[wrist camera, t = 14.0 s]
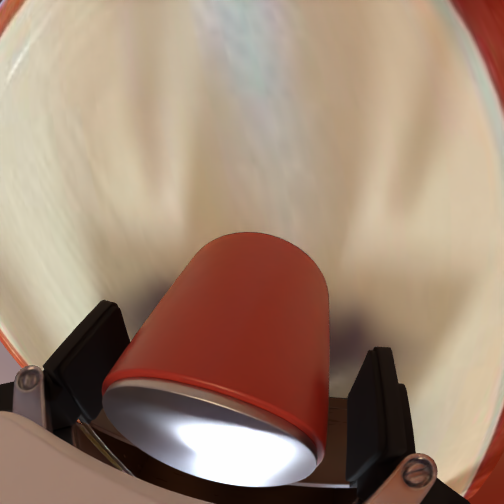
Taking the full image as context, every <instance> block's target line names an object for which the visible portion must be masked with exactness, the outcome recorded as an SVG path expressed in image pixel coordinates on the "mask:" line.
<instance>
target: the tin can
mask: <svg viewBox="0 0 504 504" xmlns="http://www.w3.org/2000/svg"><path fill="white" fill-rule="evenodd" d="M329 365H330V331H329V294H328V288H327V285H326V282H325V279H324V277H323V275H322V273H321V271H320V269H319V268H318V267H317V265H316V264H315V263H314V261H313V260H312V259H311V258H310V257H309V256H308V255H307V254H305V253H304V252H303V251H302V250H300V249H299V248H298V247H296V246H294V245H293V244H291V243H289V242H287V241H285V240H283V239H280V238H278V237H274V236H271V235H267V234H262V233H252V232H244V233H234V234H229V235H225V236H222V237H220V238H217V239H215V240H213V241H211V242H209V243H208V244H207V245H205V246H204V247H202V248H201V249H200V250H199V251H198V252H197V253H196V255H195V256H194V257H193V259H192V260H191V261H190V262H189V264H188V265H187V266H186V268H185V269H184V270H183V271H182V273H181V274H180V275H179V277H178V278H177V279H176V281H175V282H174V283H173V285H172V286H171V287H170V289H169V290H168V291H167V293H166V294H165V295H164V297H163V298H162V299H161V301H160V302H159V303H158V305H157V306H156V307H155V309H154V310H153V311H152V313H151V314H150V316H149V317H148V318H147V320H146V321H145V322H144V324H143V325H142V327H141V328H140V329H139V331H138V332H137V333H136V335H135V336H134V338H133V339H132V340H131V342H130V343H129V345H128V346H127V347H126V349H125V350H124V352H123V353H122V355H121V356H120V357H119V359H118V360H117V362H116V363H115V365H114V366H113V368H112V369H111V370H110V372H109V373H108V375H107V376H106V378H105V380H104V381H103V384H102V397H103V399H102V404H103V409H104V411H105V414H106V415H107V417H108V419H109V420H110V422H111V423H112V424H113V425H114V427H115V428H116V429H117V430H118V431H119V432H120V433H121V434H122V435H123V436H124V437H125V438H126V439H128V440H129V441H130V442H131V443H133V444H134V445H135V446H137V447H138V448H139V449H141V450H142V451H144V452H145V453H147V454H148V455H150V456H152V457H154V458H155V459H157V460H159V461H161V462H163V463H165V464H167V465H169V466H171V467H173V468H176V469H178V470H180V471H183V472H185V473H188V474H191V475H194V476H197V477H200V478H203V479H207V480H211V481H215V482H220V483H225V484H231V485H238V486H249V487H270V486H280V485H286V484H291V483H294V482H297V481H300V480H302V479H304V478H306V477H307V476H309V475H310V474H311V473H312V472H313V471H314V470H315V468H316V467H317V466H318V465H319V464H320V463H321V462H322V460H323V458H324V456H325V452H326V441H327V425H328V404H329Z"/></svg>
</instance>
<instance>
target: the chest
mask: <svg viewBox="0 0 504 504" xmlns="http://www.w3.org/2000/svg"><path fill="white" fill-rule="evenodd" d="M78 419H79V418H78ZM80 422H81V423H82V424H83V426H84V427H85V428H86V429H87V430H88V432H89V433H90V434H91V435H92V436H93V438H94V439H95V440H96V441H97V442H98V443H99V444H100V446H101V447H102V448H103V449H104V450H105V451H106V452H107V453H108V454H109V455H110V456H111V458H112V459H113V460H114V461H115V462H116V463H117V464H118V465H119V466H120V467H121V468H122V469H123V470H124V471H125V472H126V473H127V474H129V475H131V476H133V477H136V478H138V479H140V480H143V481H145V482H148V483H150V484H153V485H156V486H158V487H161V488H164V489H167V490H170V491H173V492H176V493H179V494H182V495H185V496H189V497H192V498H195V499H199V500H203V501H206V502H210V503H214V504H352V503H353V502H354V501H355V500H356V499H357V498H358V497H357V487H355V488H349V485H350V481H346V479H345V473H346V450H347V399H342V398H329V404H328V425H327V441H326V452H325V456H324V458H323V460H322V462H321V463H320V464H319V465H318V466H317V467H316V468H315V470H314V471H313V472H312V473H311V474H310V475H309V476H307V477H306V478H304V479H302V480H300V481H297V482H294V483H291V484H286V485H280V486H270V487H249V486H238V485H231V484H225V483H220V482H215V481H211V480H207V479H203V478H200V477H197V476H194V475H191V474H188V473H185V472H183V471H180V470H178V469H176V468H173V467H171V466H169V465H167V464H165V463H163V462H161V461H159V460H157V459H155V458H154V457H152V456H150V455H148V454H147V453H145V452H144V451H142V450H141V449H139V448H138V447H137V446H135V445H134V444H133V443H131V442H130V441H129V440H128V439H126V438H125V437H124V436H123V435H122V434H121V433H120V432H119V431H118V430H117V429H116V428H115V427H114V425H113V424H112V423H111V422H110V420H109V419H108V417H107V415H106V414H105V411H104V409H103V408H102V410H101V412H100V413H99V415H98V416H97V418H96V419H95V420H92V421H91V423H90V424H87V423H85V422H83V421H81V420H80Z"/></svg>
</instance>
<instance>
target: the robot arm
mask: <svg viewBox="0 0 504 504" xmlns="http://www.w3.org/2000/svg"><path fill="white" fill-rule="evenodd" d="M129 343H130V340H129V337H128V333H127V330H126V327H125V323H124V320H123V317H122V313H121V310H120V308H118V305H117V304H116V303H114V302H110V301H106V300H102V301H101V302H100V303H99V304H98V305H97V306H96V307H95V308H94V309H93V310H92V311H91V312H90V313H89V314H88V315H87V316H86V317H85V319H84V320H83V321H82V322H81V323H80V324H79V325H78V326H77V327H76V328H75V329H74V331H73V332H72V333H71V334H70V335H69V336H68V337H67V338H66V340H65V341H64V342H63V343H62V344H61V345H60V346H59V348H58V349H57V350H56V351H55V352H54V353H53V354H52V356H51V357H50V358H49V359H48V360H47V361H46V363H45V364H44V365H43V367H44V370H43V371H42V370H41V369H40V368H39V367H38V366H34V365H29V366H26V367H24V368H22V369H21V370H20V371H19V372H18V373H17V375H16V377H15V381H14V382H10V383H6V384H1V385H0V504H214V503H210V502H206V501H203V500H199V499H195V498H192V497H189V496H185V495H182V494H179V493H176V492H173V491H170V490H167V489H164V488H161V487H158V486H156V485H153V484H150V483H148V482H145V481H143V480H140V479H138V478H136V477H133V476H131V475H129V474H126V473H124V472H122V471H120V470H118V469H115V468H113V467H111V466H109V465H107V464H105V463H103V462H101V461H99V460H97V459H95V458H93V457H91V456H90V455H88V454H86V453H84V452H82V451H81V450H80V445H79V440H78V434H77V428H76V421H77V420H78V418H79V420H81V421H83V422H85V423H87V424H90V423H91V421H92V420H95V419H96V418H97V416H98V415H99V413H100V412H101V410H102V408H103V404H102V399H103V397H102V384H103V381H104V380H105V378H106V376H107V375H108V373H109V372H110V370H111V369H112V368H113V366H114V365H115V363H116V362H117V360H118V359H119V357H120V356H121V355H122V353H123V352H124V350H125V349H126V347H127V346H128V345H129ZM437 472H438V471H437V466H436V464H435V462H434V460H433V459H432V458H431V457H429V456H428V455H425V454H421V453H416V452H415V443H414V435H413V427H412V420H411V414H410V407H409V401H408V396H407V390H406V387H405V385H404V384H398V379H397V374H396V369H395V364H394V359H393V354H392V350H391V348H389V347H374V349H373V350H369V351H368V353H367V355H366V357H365V360H364V362H363V364H362V366H361V369H360V371H359V373H358V375H357V378H356V380H355V382H354V384H353V386H352V388H351V390H350V392H349V395H348V399H347V450H346V473H345V479H346V481H350V485H349V488H355V487H357V497H358V498H357V499H356V500H355V501H354V502H353V503H352V504H470V503H469V502H468V500H466V499H465V498H463V497H462V496H461V495H459V494H458V493H457V492H455V491H454V490H452V489H451V488H450V487H448V486H447V485H446V484H444V483H443V482H442V481H440V480H439V479H438V478H437Z"/></svg>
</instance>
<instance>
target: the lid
mask: <svg viewBox="0 0 504 504" xmlns="http://www.w3.org/2000/svg"><path fill="white" fill-rule="evenodd" d="M76 428H77V434H78V440H79V445H80V450H81V451H82V452H84V453H86V454H88V455H90V456H91V457H93V458H95V459H97V460H99V461H101V462H103V463H105V464H107V465H109V466H111V467H113V468H115V469H117V468H116V467H115V466H114V465H113V464H112V463H111V462H110V461H109V460H108V459H107V458H106V457H105V456H104V454H103V453H102V452H101V451H100V450H99V449H98V448H97V447H96V446H95V445H94V444H93V443H92V441H91V440H90V439H89V438H88V437H87V436H86V435H85V433H84V432H83V431H82V430H81V429H80V428H79V426H78V425H77V424H76Z"/></svg>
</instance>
